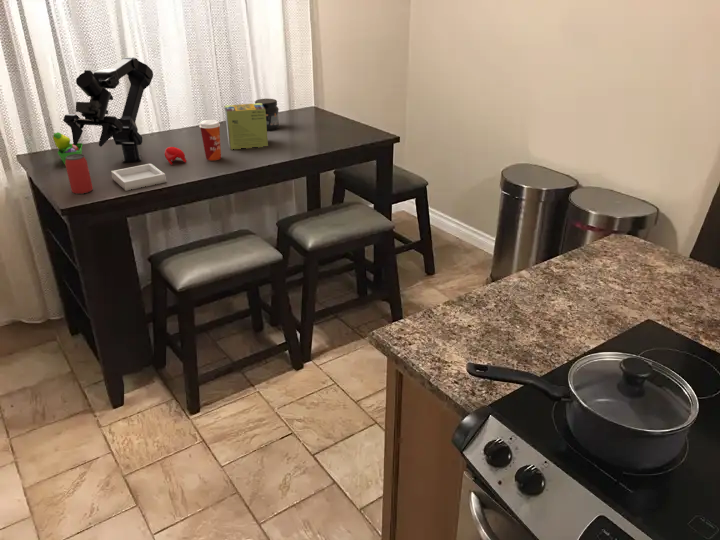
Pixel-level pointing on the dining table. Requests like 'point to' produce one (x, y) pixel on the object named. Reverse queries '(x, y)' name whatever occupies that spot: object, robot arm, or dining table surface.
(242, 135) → the protein box
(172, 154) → the cap
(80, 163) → the beer can
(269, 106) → the supplement container
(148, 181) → the tray
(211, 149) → the paper cup
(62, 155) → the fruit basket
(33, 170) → the dining table surface
